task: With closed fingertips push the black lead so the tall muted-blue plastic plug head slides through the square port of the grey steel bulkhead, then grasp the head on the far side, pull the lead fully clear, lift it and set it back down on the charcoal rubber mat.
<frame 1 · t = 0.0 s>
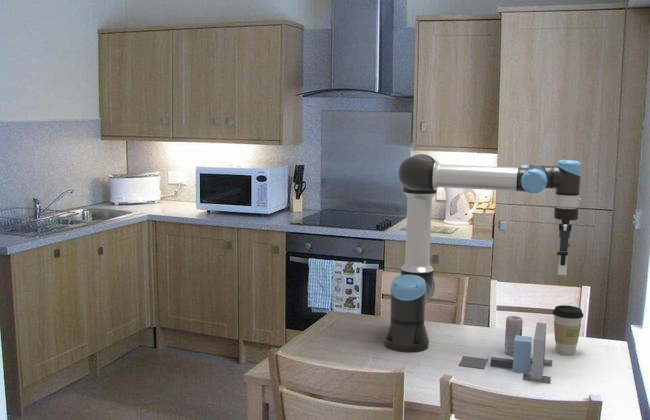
hand: (562, 270, 239), 28 cm above the table, fingers open, 13 cm apart
mat: (473, 362, 231), on the table
bulkhead: (537, 371, 224), on the table
energy drink: (512, 353, 241), on the table
coffee cup: (565, 352, 242), on the table
plug: (521, 369, 226), on the table
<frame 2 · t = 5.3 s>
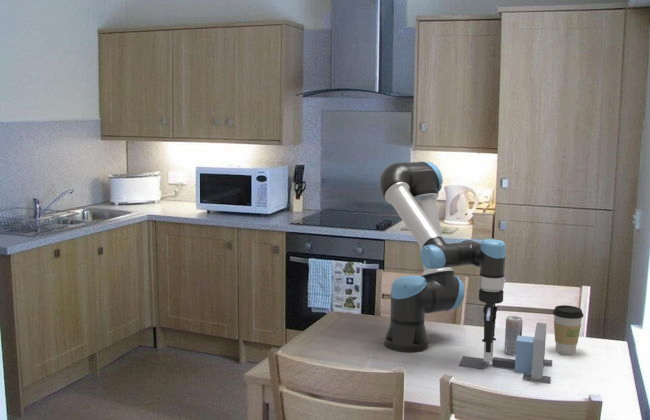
hand: (488, 360, 229), 1 cm above the table, fingers closed
plug: (523, 369, 226), on the table, touching gripper
everything else where it was.
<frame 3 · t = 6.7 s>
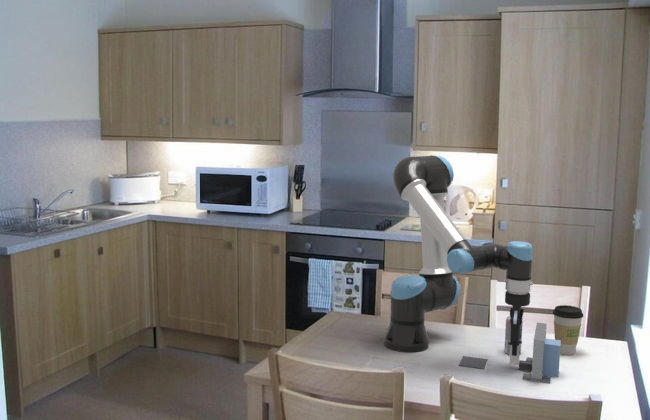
hand: (514, 364, 226), 1 cm above the table, fingers closed
plug: (550, 372, 223), on the table, touching gripper
everything else where it was.
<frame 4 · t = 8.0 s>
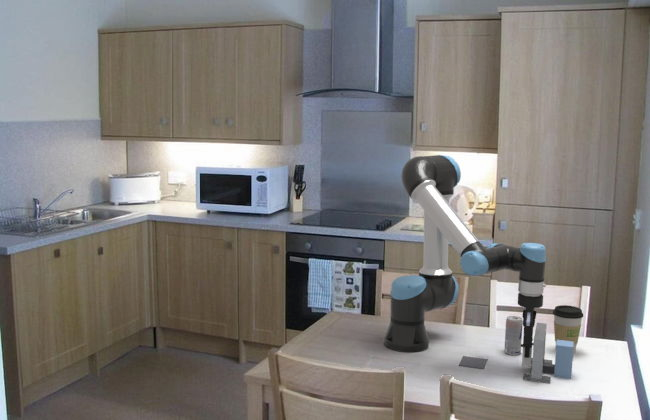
hand: (526, 366, 225), 1 cm above the table, fingers closed
plug: (562, 374, 222), on the table, touching gripper
everything else where it was.
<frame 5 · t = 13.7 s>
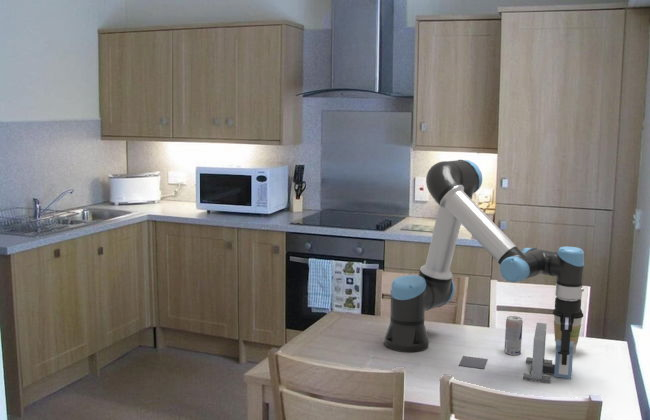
hand: (563, 370, 222), 1 cm above the table, fingers closed on plug, 5 cm apart
plug: (562, 374, 222), on the table, touching gripper
everything else where it was.
when the fingers open (3 cm above the table, at t = 22.8 s): plug drops 1 cm, resting on mat.
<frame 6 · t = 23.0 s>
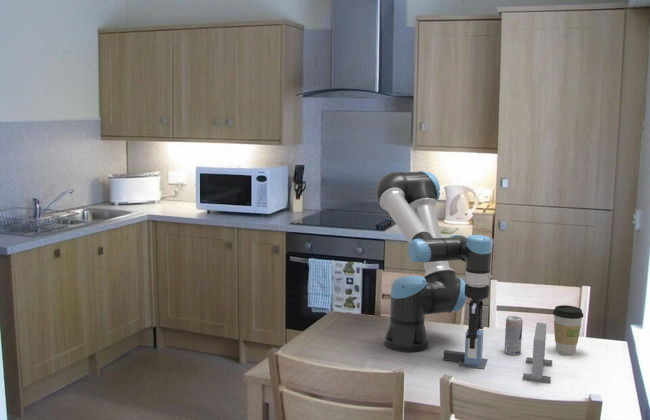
hand: (473, 353, 230), 3 cm above the table, fingers open, 8 cm apart
plug: (473, 361, 231), resting on mat
everything else where it was.
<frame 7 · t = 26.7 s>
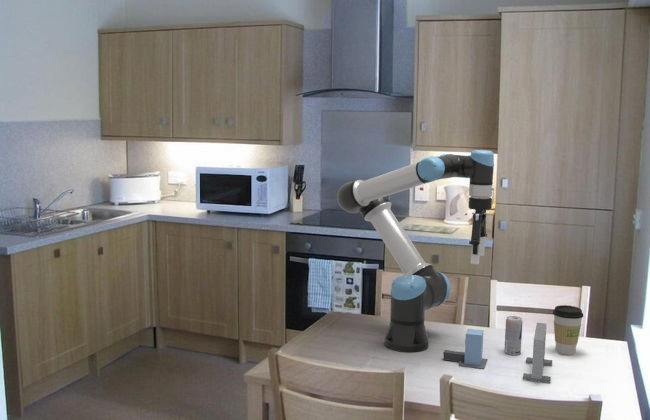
hand: (477, 259, 241), 31 cm above the table, fingers open, 13 cm apart
nothing on the table moved.
at the end: plug inside the target area on the mat (0.6 cm from its centre), point 0.3 cm above the mat's base; plug touching mat; the gripper is holding nothing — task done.
